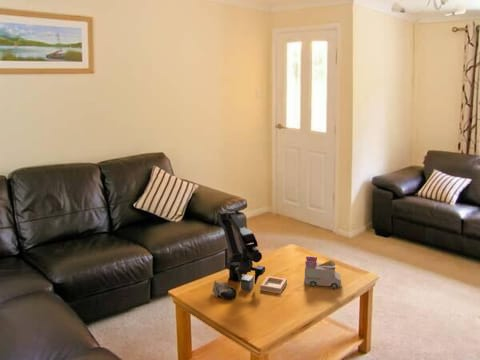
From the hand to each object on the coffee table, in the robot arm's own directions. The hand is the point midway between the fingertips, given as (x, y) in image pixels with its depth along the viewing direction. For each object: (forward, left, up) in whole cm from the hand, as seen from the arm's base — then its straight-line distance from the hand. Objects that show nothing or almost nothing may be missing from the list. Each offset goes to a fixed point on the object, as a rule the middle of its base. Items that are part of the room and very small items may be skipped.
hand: (247, 282), depth 250 cm
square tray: (+13, +6, -3) cm, 15 cm away
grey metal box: (0, 0, -3) cm, 3 cm away
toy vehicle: (+37, +17, -3) cm, 41 cm away
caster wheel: (-7, -12, -3) cm, 15 cm away
